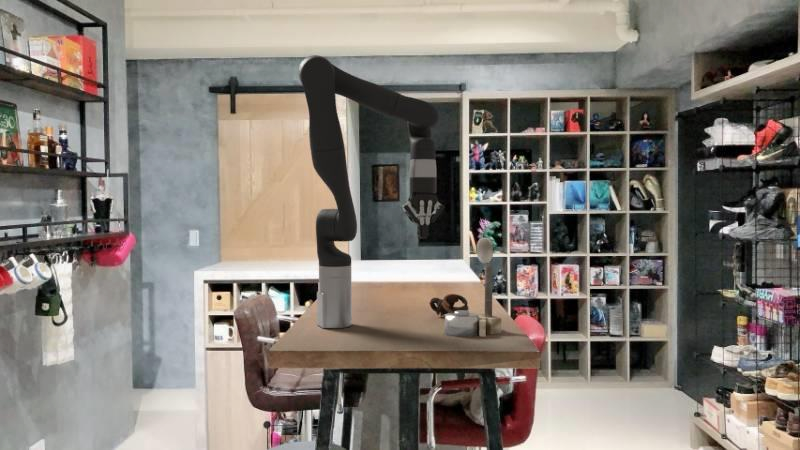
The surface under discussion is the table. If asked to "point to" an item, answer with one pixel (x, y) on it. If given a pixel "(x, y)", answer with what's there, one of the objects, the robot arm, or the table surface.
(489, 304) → the wooden display stand
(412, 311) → the table surface
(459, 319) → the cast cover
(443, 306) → the pottery mug
